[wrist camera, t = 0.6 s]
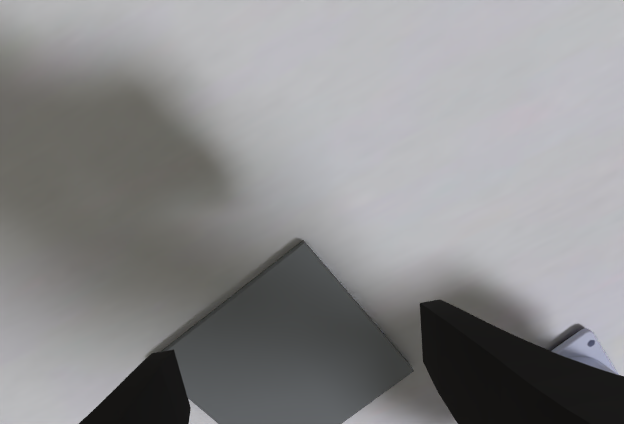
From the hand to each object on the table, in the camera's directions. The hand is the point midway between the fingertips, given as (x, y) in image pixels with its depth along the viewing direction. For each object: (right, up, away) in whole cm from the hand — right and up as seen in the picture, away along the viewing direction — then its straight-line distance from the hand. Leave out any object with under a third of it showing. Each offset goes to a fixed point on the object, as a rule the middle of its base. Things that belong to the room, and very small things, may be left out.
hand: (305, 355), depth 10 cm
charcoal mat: (-1, -5, +11) cm, 12 cm away
